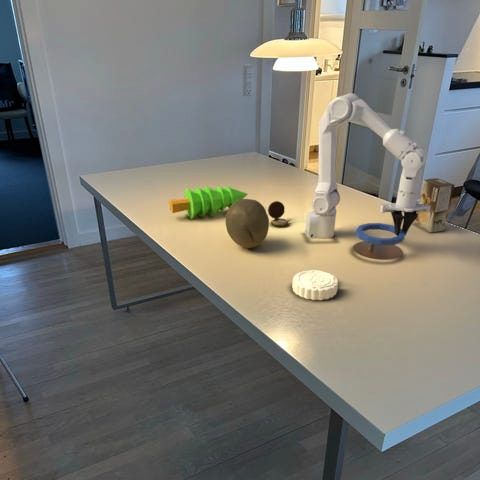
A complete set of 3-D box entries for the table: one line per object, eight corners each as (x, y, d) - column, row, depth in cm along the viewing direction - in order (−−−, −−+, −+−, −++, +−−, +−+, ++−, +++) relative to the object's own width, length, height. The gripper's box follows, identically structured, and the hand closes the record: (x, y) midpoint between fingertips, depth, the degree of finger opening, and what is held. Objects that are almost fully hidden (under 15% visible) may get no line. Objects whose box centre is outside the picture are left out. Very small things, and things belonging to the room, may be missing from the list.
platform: (359, 263, 146) (361, 249, 144) (347, 244, 159) (348, 231, 157) (409, 262, 147) (412, 249, 145) (392, 243, 160) (395, 230, 157)
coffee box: (445, 230, 170) (456, 184, 162) (430, 232, 168) (440, 186, 160) (427, 222, 177) (437, 177, 169) (413, 224, 175) (422, 179, 167)
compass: (274, 228, 170) (275, 208, 167) (267, 220, 177) (267, 201, 173) (295, 226, 172) (297, 206, 169) (287, 218, 179) (288, 199, 175)
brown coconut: (276, 243, 159) (278, 198, 151) (255, 258, 149) (256, 210, 141) (239, 234, 165) (239, 191, 157) (216, 249, 155) (215, 202, 147)
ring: (363, 245, 143) (364, 240, 143) (351, 228, 156) (351, 223, 155) (410, 244, 144) (411, 239, 144) (394, 227, 156) (395, 222, 156)
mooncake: (283, 289, 131) (283, 277, 130) (310, 276, 139) (311, 264, 137) (318, 305, 124) (319, 293, 122) (346, 290, 131) (347, 278, 130)
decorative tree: (167, 183, 173) (244, 172, 182) (167, 208, 182) (241, 197, 191) (176, 204, 167) (256, 192, 176) (175, 229, 176) (251, 216, 186)
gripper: (388, 195, 139) (381, 239, 146) (438, 194, 140) (428, 239, 147) (381, 188, 145) (373, 231, 152) (428, 187, 146) (419, 230, 153)
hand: (400, 234), depth 150 cm, fingers closed on ring, 1 cm apart
